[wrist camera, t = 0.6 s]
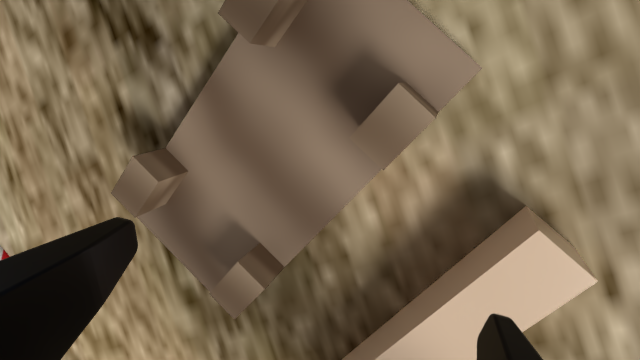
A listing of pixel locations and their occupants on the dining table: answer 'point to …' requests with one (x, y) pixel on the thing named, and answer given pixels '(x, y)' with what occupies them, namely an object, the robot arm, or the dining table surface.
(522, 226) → the clay strip
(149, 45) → the dining table surface
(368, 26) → the tabbed beige plate
